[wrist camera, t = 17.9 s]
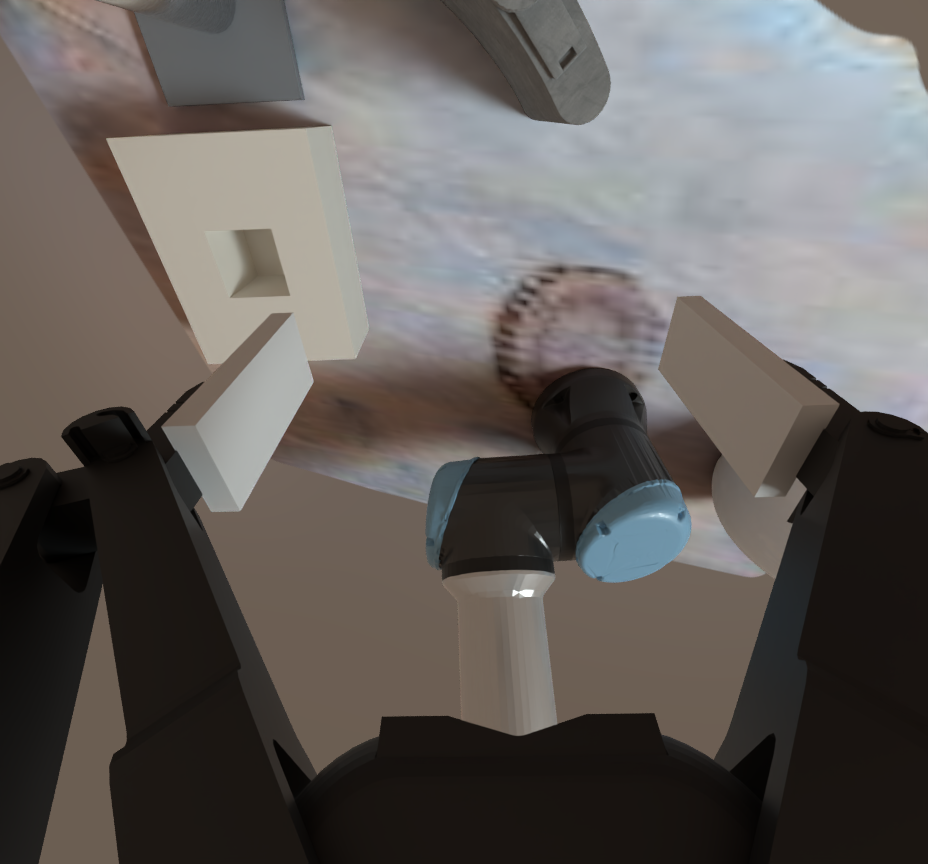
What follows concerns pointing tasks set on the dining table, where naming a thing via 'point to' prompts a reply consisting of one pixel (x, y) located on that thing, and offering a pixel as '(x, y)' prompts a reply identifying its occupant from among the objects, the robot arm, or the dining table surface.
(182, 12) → the steel plug
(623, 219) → the dining table surface
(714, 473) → the pitcher
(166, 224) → the bore block
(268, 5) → the slate mat
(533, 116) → the hip flask
